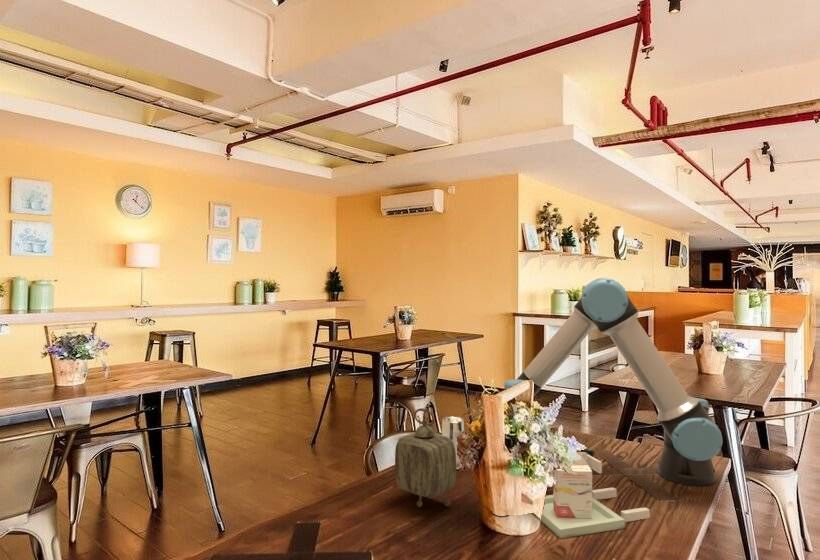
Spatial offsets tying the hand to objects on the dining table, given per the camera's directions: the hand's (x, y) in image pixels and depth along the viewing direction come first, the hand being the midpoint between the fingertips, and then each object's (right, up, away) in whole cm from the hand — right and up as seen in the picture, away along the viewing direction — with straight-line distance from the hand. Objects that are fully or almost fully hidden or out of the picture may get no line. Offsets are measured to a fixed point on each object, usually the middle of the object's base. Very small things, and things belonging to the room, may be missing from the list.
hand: (576, 470), depth 126 cm
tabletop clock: (-37, -13, +10) cm, 40 cm away
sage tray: (0, -12, +2) cm, 12 cm away
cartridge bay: (+13, -12, +7) cm, 19 cm away
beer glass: (-27, -12, +35) cm, 46 cm away
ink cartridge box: (0, -12, +2) cm, 12 cm away
